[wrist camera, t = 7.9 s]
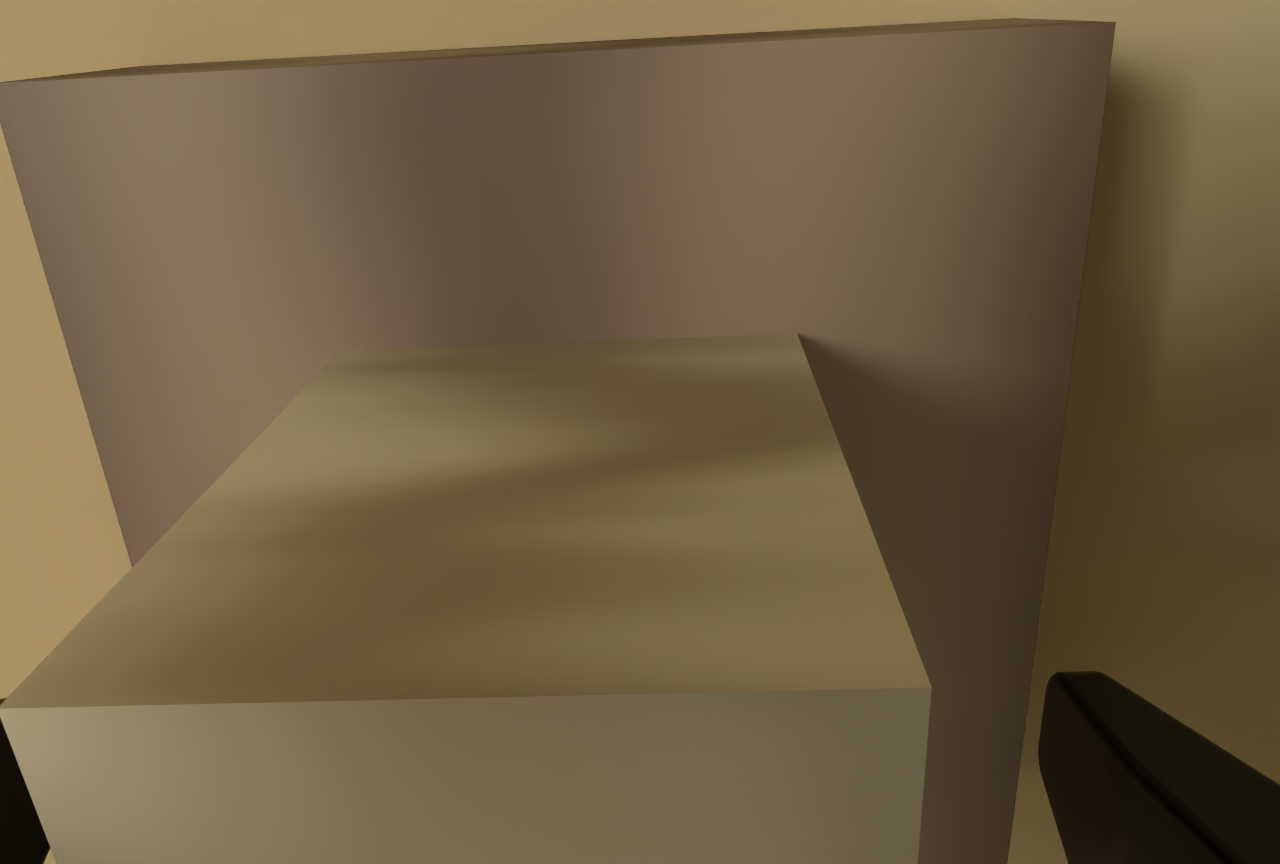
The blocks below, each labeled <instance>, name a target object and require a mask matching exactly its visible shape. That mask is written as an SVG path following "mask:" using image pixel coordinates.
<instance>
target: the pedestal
mask: <svg viewBox="0 0 1280 864" xmlns="http://www.w3.org/2000/svg"><path fill="white" fill-rule="evenodd" d="M1115 24H1116V22H1096V21H1070V20H1045V19H1019V18H1011V19H992V20H974V21H956V22H938V23H920V24H901V25H883V26H865V27H847V28H829V29H810V30H792V31H774V32H756V33H738V34H719V35H701V36H683V37H665V38H647V39H628V40H610V41H592V42H574V43H556V44H537V45H519V46H501V47H483V48H465V49H446V50H428V51H410V52H392V53H374V54H355V55H337V56H319V57H301V58H283V59H264V60H246V61H228V62H210V63H192V64H173V65H155V66H138V67H129V68H120V69H112V70H103V71H94V72H86V73H77V74H68V75H60V76H51V77H42V78H34V79H25V80H16V81H8V82H0V124H1V127H2V130H3V134H4V137H5V141H6V144H7V147H8V151H9V154H10V157H11V161H12V164H13V167H14V171H15V174H16V178H17V181H18V184H19V188H20V191H21V194H22V198H23V201H24V205H25V208H26V211H27V215H28V218H29V221H30V225H31V228H32V231H33V235H34V238H35V242H36V245H37V248H38V252H39V255H40V258H41V262H42V265H43V269H44V272H45V275H46V279H47V282H48V285H49V289H50V292H51V295H52V299H53V302H54V306H55V309H56V312H57V316H58V319H59V322H60V326H61V329H62V333H63V336H64V339H65V343H66V346H67V349H68V353H69V356H70V359H71V363H72V366H73V370H74V373H75V376H76V380H77V383H78V386H79V390H80V393H81V397H82V400H83V403H84V407H85V410H86V413H87V417H88V420H89V423H90V427H91V430H92V434H93V437H94V440H95V444H96V447H97V450H98V454H99V457H100V461H101V464H102V467H103V471H104V474H105V477H106V481H107V484H108V487H109V491H110V494H111V498H112V501H113V504H114V508H115V511H116V514H117V518H118V521H119V525H120V528H121V531H122V535H123V538H124V541H125V545H126V548H127V551H128V555H129V558H130V562H131V565H132V567H133V566H134V565H135V564H136V563H137V562H138V561H139V560H140V559H141V558H142V557H143V556H144V555H145V554H146V553H147V552H148V551H149V550H150V549H151V548H152V547H153V545H154V544H155V543H156V542H157V541H158V540H159V539H160V538H161V537H162V536H163V535H164V534H165V533H166V532H167V531H168V530H169V529H170V528H171V527H172V526H173V525H174V524H175V523H176V522H177V520H178V519H179V518H180V517H181V516H182V515H183V514H184V513H185V512H186V511H187V510H188V509H189V508H190V507H191V506H192V505H193V504H194V503H195V502H196V501H197V500H198V499H199V498H200V496H201V495H202V494H203V493H204V492H205V491H206V490H207V489H208V488H209V487H210V486H211V485H212V484H213V483H214V482H215V481H216V480H217V479H218V478H219V477H220V476H221V475H222V474H223V473H224V471H225V470H226V469H227V468H228V467H229V466H230V465H231V464H232V463H233V462H234V461H235V460H236V459H237V458H238V457H239V456H240V455H241V454H242V453H243V452H244V451H245V450H246V449H247V447H248V446H249V445H250V444H251V443H252V442H253V441H254V440H255V439H256V438H257V437H258V436H259V435H260V434H261V433H262V432H263V431H264V430H265V429H266V428H267V427H268V426H269V425H270V424H271V422H272V421H273V420H274V419H275V418H276V417H277V416H278V415H279V414H280V413H281V412H282V411H283V410H284V409H285V408H286V407H287V406H288V405H289V404H290V403H291V402H292V401H293V400H294V398H295V397H296V396H297V395H298V394H299V393H300V392H301V391H302V390H303V389H304V388H305V387H306V386H307V385H308V384H309V383H310V382H311V381H312V380H313V379H314V378H315V377H316V376H317V375H318V373H319V372H320V371H321V370H322V369H323V368H324V367H325V366H326V365H327V364H328V363H329V362H330V361H331V360H332V359H333V358H334V357H335V356H336V355H337V354H338V353H339V352H340V351H359V350H384V349H409V348H434V347H459V346H484V345H509V344H534V343H559V342H584V341H608V340H633V339H658V338H683V337H708V336H733V335H758V334H783V333H797V334H798V337H799V340H800V342H801V345H802V348H803V350H804V353H805V356H806V358H807V361H808V363H809V366H810V369H811V371H812V374H813V377H814V379H815V382H816V384H817V387H818V390H819V392H820V395H821V398H822V400H823V403H824V405H825V408H826V411H827V413H828V416H829V419H830V421H831V424H832V426H833V429H834V432H835V434H836V437H837V440H838V442H839V445H840V448H841V450H842V453H843V455H844V458H845V461H846V463H847V466H848V469H849V471H850V474H851V476H852V479H853V482H854V484H855V487H856V490H857V492H858V495H859V497H860V500H861V503H862V505H863V508H864V511H865V513H866V516H867V518H868V521H869V524H870V526H871V529H872V532H873V534H874V537H875V540H876V542H877V545H878V547H879V550H880V553H881V555H882V558H883V561H884V563H885V566H886V568H887V571H888V574H889V576H890V579H891V582H892V584H893V587H894V589H895V592H896V595H897V597H898V600H899V603H900V605H901V608H902V610H903V613H904V616H905V618H906V621H907V624H908V626H909V629H910V632H911V634H912V637H913V639H914V642H915V645H916V647H917V650H918V653H919V655H920V658H921V660H922V663H923V666H924V668H925V671H926V674H927V676H928V679H929V681H930V684H931V687H932V691H931V703H930V715H929V728H928V740H927V753H926V765H925V777H924V790H923V802H922V815H921V827H920V839H919V852H918V864H1007V861H1008V853H1009V846H1010V838H1011V830H1012V822H1013V815H1014V807H1015V799H1016V791H1017V784H1018V776H1019V768H1020V760H1021V753H1022V745H1023V737H1024V729H1025V722H1026V714H1027V706H1028V698H1029V691H1030V683H1031V675H1032V667H1033V660H1034V652H1035V644H1036V636H1037V629H1038V621H1039V613H1040V605H1041V597H1042V590H1043V582H1044V574H1045V566H1046V559H1047V551H1048V543H1049V535H1050V528H1051V520H1052V512H1053V504H1054V497H1055V489H1056V481H1057V473H1058V466H1059V458H1060V450H1061V442H1062V435H1063V427H1064V419H1065V411H1066V404H1067V396H1068V388H1069V380H1070V373H1071V365H1072V357H1073V349H1074V342H1075V334H1076V326H1077V318H1078V311H1079V303H1080V295H1081V287H1082V280H1083V272H1084V264H1085V256H1086V249H1087V241H1088V233H1089V225H1090V218H1091V210H1092V202H1093V194H1094V186H1095V179H1096V171H1097V163H1098V155H1099V148H1100V140H1101V132H1102V124H1103V117H1104V109H1105V101H1106V93H1107V86H1108V78H1109V70H1110V62H1111V55H1112V47H1113V39H1114V31H1115Z"/></svg>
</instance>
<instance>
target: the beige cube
mask: <svg viewBox="0 0 1280 864" xmlns="http://www.w3.org/2000/svg"><path fill="white" fill-rule="evenodd" d="M931 691H932V687H931V684H930V681H929V679H928V676H927V674H926V671H925V668H924V666H923V663H922V660H921V658H920V655H919V653H918V650H917V647H916V645H915V642H914V639H913V637H912V634H911V632H910V629H909V626H908V624H907V621H906V618H905V616H904V613H903V610H902V608H901V605H900V603H899V600H898V597H897V595H896V592H895V589H894V587H893V584H892V582H891V579H890V576H889V574H888V571H887V568H886V566H885V563H884V561H883V558H882V555H881V553H880V550H879V547H878V545H877V542H876V540H875V537H874V534H873V532H872V529H871V526H870V524H869V521H868V518H867V516H866V513H865V511H864V508H863V505H862V503H861V500H860V497H859V495H858V492H857V490H856V487H855V484H854V482H853V479H852V476H851V474H850V471H849V469H848V466H847V463H846V461H845V458H844V455H843V453H842V450H841V448H840V445H839V442H838V440H837V437H836V434H835V432H834V429H833V426H832V424H831V421H830V419H829V416H828V413H827V411H826V408H825V405H824V403H823V400H822V398H821V395H820V392H819V390H818V387H817V384H816V382H815V379H814V377H813V374H812V371H811V369H810V366H809V363H808V361H807V358H806V356H805V353H804V350H803V348H802V345H801V342H800V340H799V337H798V334H797V333H783V334H758V335H733V336H708V337H683V338H658V339H633V340H608V341H584V342H559V343H534V344H509V345H484V346H459V347H434V348H409V349H384V350H359V351H340V352H339V353H338V354H337V355H336V356H335V357H334V358H333V359H332V360H331V361H330V362H329V363H328V364H327V365H326V366H325V367H324V368H323V369H322V370H321V371H320V372H319V373H318V375H317V376H316V377H315V378H314V379H313V380H312V381H311V382H310V383H309V384H308V385H307V386H306V387H305V388H304V389H303V390H302V391H301V392H300V393H299V394H298V395H297V396H296V397H295V398H294V400H293V401H292V402H291V403H290V404H289V405H288V406H287V407H286V408H285V409H284V410H283V411H282V412H281V413H280V414H279V415H278V416H277V417H276V418H275V419H274V420H273V421H272V422H271V424H270V425H269V426H268V427H267V428H266V429H265V430H264V431H263V432H262V433H261V434H260V435H259V436H258V437H257V438H256V439H255V440H254V441H253V442H252V443H251V444H250V445H249V446H248V447H247V449H246V450H245V451H244V452H243V453H242V454H241V455H240V456H239V457H238V458H237V459H236V460H235V461H234V462H233V463H232V464H231V465H230V466H229V467H228V468H227V469H226V470H225V471H224V473H223V474H222V475H221V476H220V477H219V478H218V479H217V480H216V481H215V482H214V483H213V484H212V485H211V486H210V487H209V488H208V489H207V490H206V491H205V492H204V493H203V494H202V495H201V496H200V498H199V499H198V500H197V501H196V502H195V503H194V504H193V505H192V506H191V507H190V508H189V509H188V510H187V511H186V512H185V513H184V514H183V515H182V516H181V517H180V518H179V519H178V520H177V522H176V523H175V524H174V525H173V526H172V527H171V528H170V529H169V530H168V531H167V532H166V533H165V534H164V535H163V536H162V537H161V538H160V539H159V540H158V541H157V542H156V543H155V544H154V545H153V547H152V548H151V549H150V550H149V551H148V552H147V553H146V554H145V555H144V556H143V557H142V558H141V559H140V560H139V561H138V562H137V563H136V564H135V565H134V566H133V567H132V568H131V569H130V571H129V572H128V573H127V574H126V575H125V576H124V577H123V578H122V579H121V580H120V581H119V582H118V583H117V584H116V585H115V586H114V587H113V588H112V589H111V590H110V591H109V592H108V593H107V594H106V596H105V597H104V598H103V599H102V600H101V601H100V602H99V603H98V604H97V605H96V606H95V607H94V608H93V609H92V610H91V611H90V612H89V613H88V614H87V615H86V616H85V617H84V618H83V619H82V621H81V622H80V623H79V624H78V625H77V626H76V627H75V628H74V629H73V630H72V631H71V632H70V633H69V634H68V635H67V636H66V637H65V638H64V639H63V640H62V641H61V642H60V643H59V645H58V646H57V647H56V648H55V649H54V650H53V651H52V652H51V653H50V654H49V655H48V656H47V657H46V658H45V659H44V660H43V661H42V662H41V663H40V664H39V665H38V666H37V667H36V668H35V670H34V671H33V672H32V673H31V674H30V675H29V676H28V677H27V678H26V679H25V680H24V681H23V682H22V683H21V684H20V685H19V686H18V687H17V688H16V689H15V690H14V691H13V692H12V694H11V695H10V696H9V697H8V698H7V699H6V700H5V701H4V702H3V703H2V704H1V705H0V718H1V721H2V723H3V726H4V729H5V731H6V734H7V736H8V739H9V742H10V744H11V747H12V749H13V752H14V754H15V757H16V760H17V762H18V765H19V767H20V770H21V773H22V775H23V778H24V780H25V783H26V786H27V788H28V791H29V793H30V796H31V799H32V801H33V804H34V806H35V809H36V812H37V814H38V817H39V819H40V822H41V825H42V827H43V830H44V832H45V835H46V838H47V840H48V843H49V845H50V848H51V851H52V853H53V856H54V858H55V861H56V864H918V852H919V839H920V827H921V815H922V802H923V790H924V777H925V765H926V753H927V740H928V728H929V715H930V703H931Z"/></svg>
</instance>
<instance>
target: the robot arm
mask: <svg viewBox="0 0 1280 864" xmlns="http://www.w3.org/2000/svg"><path fill="white" fill-rule="evenodd" d="M6 699H7V698H3V699H0V705H1V704H2V703H3V702H4V701H5V700H6ZM1038 757H1039V766H1040V771H1041V775H1042V779H1043V782H1044V785H1045V788H1046V792H1047V795H1048V798H1049V802H1050V805H1051V808H1052V811H1053V815H1054V818H1055V821H1056V824H1057V828H1058V831H1059V834H1060V837H1061V841H1062V844H1063V847H1064V851H1065V854H1066V857H1067V860H1068V864H1280V785H1279V784H1277V783H1276V782H1274V781H1273V780H1271V779H1270V778H1268V777H1266V776H1265V775H1263V774H1262V773H1260V772H1258V771H1257V770H1255V769H1254V768H1252V767H1251V766H1249V765H1247V764H1246V763H1244V762H1243V761H1241V760H1240V759H1238V758H1236V757H1235V756H1233V755H1232V754H1230V753H1229V752H1227V751H1225V750H1224V749H1222V748H1221V747H1219V746H1218V745H1216V744H1214V743H1213V742H1211V741H1210V740H1208V739H1206V738H1205V737H1203V736H1202V735H1200V734H1199V733H1197V732H1195V731H1194V730H1192V729H1191V728H1189V727H1188V726H1186V725H1184V724H1183V723H1181V722H1180V721H1178V720H1177V719H1175V718H1173V717H1172V716H1170V715H1169V714H1167V713H1166V712H1164V711H1162V710H1161V709H1159V708H1158V707H1156V706H1154V705H1153V704H1151V703H1150V702H1148V701H1147V700H1145V699H1143V698H1142V697H1140V696H1139V695H1137V694H1136V693H1134V692H1132V691H1131V690H1129V689H1128V688H1126V687H1125V686H1123V685H1121V684H1120V683H1118V682H1117V681H1115V680H1114V679H1112V678H1110V677H1109V676H1107V675H1105V674H1103V673H1101V672H1096V671H1081V672H1057V673H1055V674H1054V675H1053V676H1051V677H1050V679H1049V682H1048V684H1047V688H1046V694H1045V701H1044V709H1043V716H1042V723H1041V731H1040V738H1039V747H1038ZM49 850H50V845H49V843H48V840H47V838H46V835H45V832H44V830H43V827H42V825H41V822H40V819H39V817H38V814H37V812H36V809H35V806H34V804H33V801H32V799H31V796H30V793H29V791H28V788H27V786H26V783H25V780H24V778H23V775H22V773H21V770H20V767H19V765H18V762H17V760H16V757H15V754H14V752H13V749H12V747H11V744H10V742H9V739H8V736H7V734H6V731H5V729H4V726H3V723H2V721H1V718H0V864H43V863H44V861H45V859H46V856H47V854H48V852H49Z"/></svg>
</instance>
